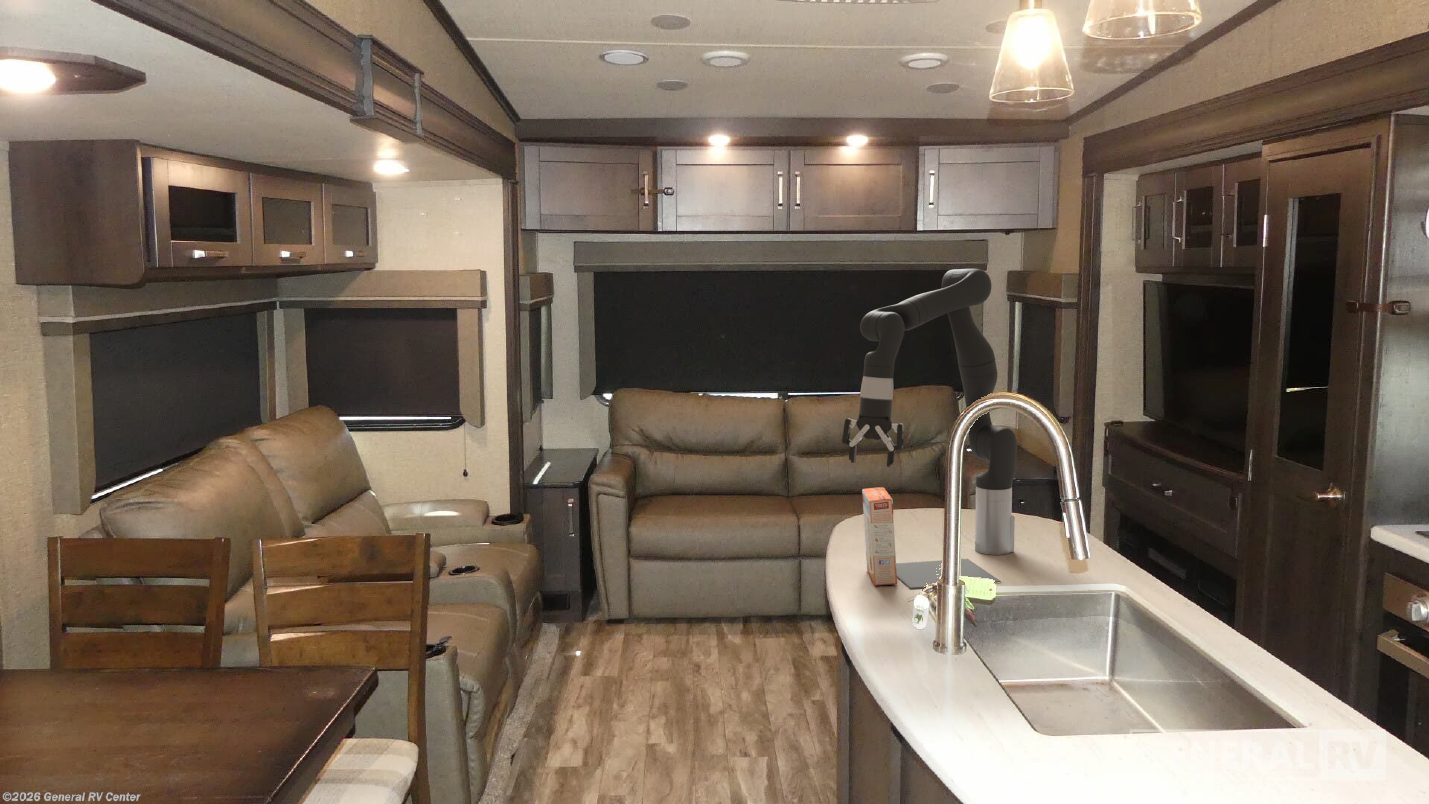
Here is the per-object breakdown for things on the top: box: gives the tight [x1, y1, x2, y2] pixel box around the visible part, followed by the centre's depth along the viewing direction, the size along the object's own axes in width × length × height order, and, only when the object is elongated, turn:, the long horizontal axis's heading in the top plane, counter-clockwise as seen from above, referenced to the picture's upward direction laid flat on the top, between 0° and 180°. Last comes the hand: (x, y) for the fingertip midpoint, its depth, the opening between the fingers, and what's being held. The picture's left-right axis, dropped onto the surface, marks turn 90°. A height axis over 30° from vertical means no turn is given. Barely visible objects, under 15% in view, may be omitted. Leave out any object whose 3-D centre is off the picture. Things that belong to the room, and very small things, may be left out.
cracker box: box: [861, 487, 898, 586], centre depth 257 cm, size 14×6×21 cm, turn 179°
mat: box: [896, 558, 1002, 590], centre depth 261 cm, size 22×20×1 cm
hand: (870, 464), depth 252 cm, fingers open, 8 cm apart
